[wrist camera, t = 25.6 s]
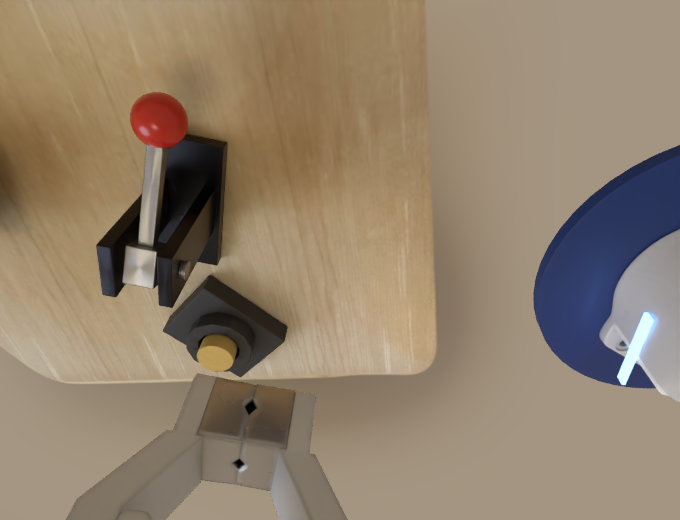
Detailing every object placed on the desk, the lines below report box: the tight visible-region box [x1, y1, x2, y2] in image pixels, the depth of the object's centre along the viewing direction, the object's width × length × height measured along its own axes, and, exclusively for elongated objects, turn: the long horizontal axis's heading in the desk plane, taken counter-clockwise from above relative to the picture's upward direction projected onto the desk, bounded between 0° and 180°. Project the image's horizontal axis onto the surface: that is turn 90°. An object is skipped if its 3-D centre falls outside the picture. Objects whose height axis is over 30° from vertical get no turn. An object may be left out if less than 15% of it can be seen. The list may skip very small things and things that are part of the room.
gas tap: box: [96, 134, 227, 308], centre depth 37 cm, size 12×6×12 cm, turn 169°
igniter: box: [163, 275, 287, 377], centre depth 49 cm, size 10×8×4 cm
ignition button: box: [197, 334, 237, 371], centre depth 46 cm, size 4×4×2 cm
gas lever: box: [123, 92, 188, 289], centre depth 32 cm, size 13×4×4 cm, turn 169°
